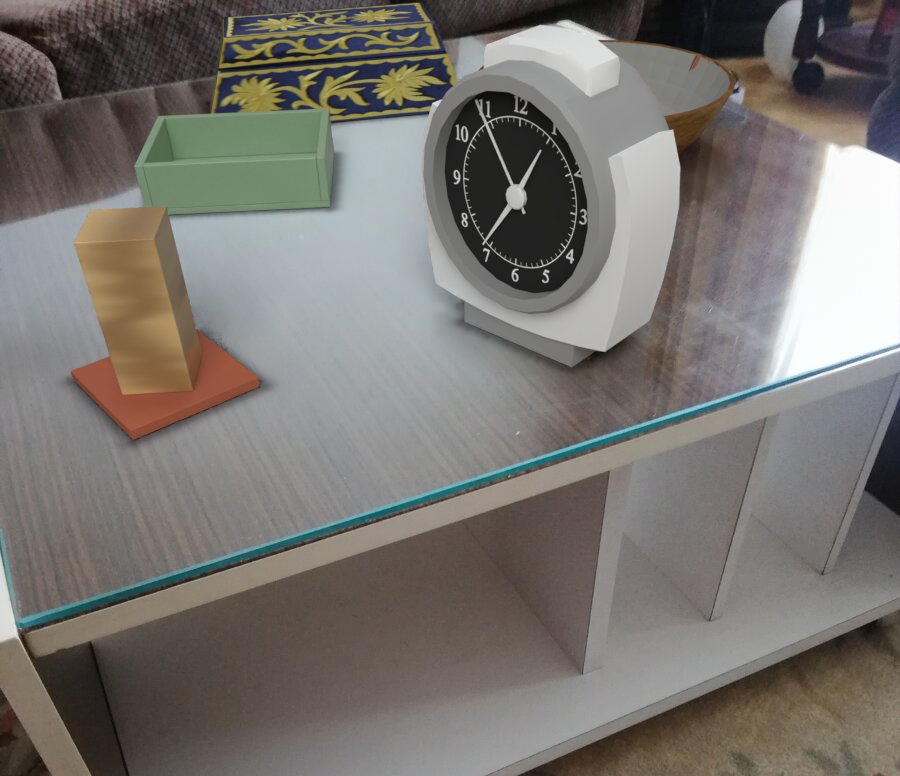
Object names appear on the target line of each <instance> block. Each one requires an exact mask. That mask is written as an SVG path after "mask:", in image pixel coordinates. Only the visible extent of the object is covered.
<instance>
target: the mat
mask: <svg viewBox="0 0 900 776" xmlns="http://www.w3.org/2000/svg"><path fill="white" fill-rule="evenodd" d="M196 330H197V334H198V338H199V342H200V346H201V350H202V358H201V362H200V366H199V370H198V374H197V378H196V382H195V386H194V390H193V391H186V392H167V393H148V394H129V395H123V394H122V391H121V388H120V385H119V382H118V379H117V376H116V373H115V370H114V367H113V364H112V361H111V357H110V355H109V356H106V357H103V358H101V359H99V360H95V361H92V362H91V363H87V364H85V365H82V366H79V367H76V368H74V369H71V370H70V374H71V377H72V380H73V381H74V382H75V383H76V385H78V386H79V387H80V388H81V389H82V390H83V391H84V392H85V393H86V395H88V396H89V397H90V398H91V399H92V400H93V401H94V402H95V403H96V404H97V406H99V407H100V408H101V409H102V410H103V411H104V413H106V415H107V416H109V417H110V419H112V420H113V421H114V422H115V424H117V425H118V426H119V427H120V428H121V429H122V430H123V431H124V432H125V433H126V435H128V436H129V437H130V438H131V439H132V440H133V441H135V440H137V439H139V438H142V437H144V436H147V435H148V434H151V433H153V432H156V431H158V430H161V429H163V428H165V427H168V426H170V425H173V424H175V423H177V422H180V421H181V420H184V419H186V418H189V417H191V416H193V415H196V414H198V413H201V412H204V411H205V410H208V409H210V408H213V407H215V406H217V405H220V404H223V403H224V402H227V401H229V400H232V399H234V398H236V397H238V396H241V395H243V394H246V393H248V392H251V391H253V390H256V389H258V388H260V380H259V377H258V375H256V374H254V373H253V372H252V371H251V370H250V369H249V368H247V367H246V366H245V365H244V364H242V363H241V362H239V361H238V360H237V359H235V358H234V357H233V356H232V355H231V354H229V353H228V352H227V351H225V350H224V349H223V348H221V347H220V346H219V345H218V344H216V343H215V342H214V341H213V340H211V339H210V338H209V337H207V336H206V335H205V334H204V333H202V332H201V331H200V330H198V329H197V328H196Z"/></svg>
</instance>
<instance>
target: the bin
mask: <svg viewBox="0 0 900 776" xmlns="http://www.w3.org/2000/svg"><path fill="white" fill-rule="evenodd" d="M334 162H335V150H334V140H333V131H332V122H331V120H330V111H329V109H305V110H283V111H260V112H238V113H216V114H210V113H198V114H197V113H196V114H173V115H158V116H157V118H156V119H155V121H154V124H153V126H152V127H151V130H150V132H149V135H148V136H147V138H146V141H145V143H144V145H143V147H142V149H141V151H140V153H139V155H138V157H137V159H136V162H135V163H134V165H133V168H134V172H135V176H136V179H137V183H138V187H139V191H140V194H141V199H142V202H143V207H160V206H166V207H167V210H168V214H169V216H171V215H188V214H189V215H191V214H211V213H231V212H232V213H233V212H251V211H255V212H256V211H274V210H276V211H277V210H293V209H294V210H297V209H315V208H330V207H331V201H332V199H331V198H332V189H333V188H332V187H333V175H334Z"/></svg>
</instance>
